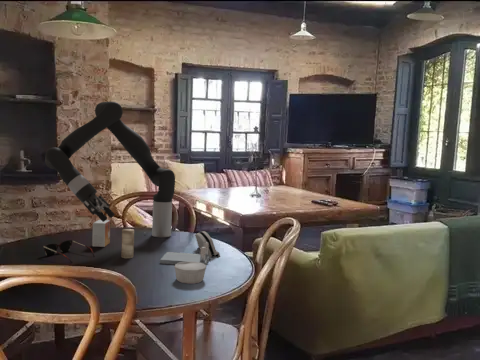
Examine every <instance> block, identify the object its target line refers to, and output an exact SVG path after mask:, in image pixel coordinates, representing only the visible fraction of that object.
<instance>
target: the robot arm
mask: <svg viewBox="0 0 480 360" xmlns="http://www.w3.org/2000/svg"><path fill="white" fill-rule="evenodd" d="M123 113H124V112H123V107H122V105H121V104H120V103H118V102H116V101H102V102H99V103H97V104H96V106H95V109H94V114H95V117H94V118H93V119H90V121H88V122H87V123H84V124H83V125H80V126H79V127H78V128H76V129H74V130H73V131H72V132H71V133H70V134H68V135H67V136H66V137H65V138H63V140H62V141H61V142H60V145H58V146H57V147H54V146H53V147H50V148H48V149H47V150H46V152H45V159H44V162H45V164H46V166H47V168H49V169H51V170H55V171H56V172H57V173H58V175H59V178H60V179H61V181H62V182H63V183H64V184H65V185H66V186H67V187H68V188H69V190H70V191H71V192H72V193H73V195H75V197H76V198H77V199H78V200H79V201H80V202H81V203H82V204H83V206H84V207H85V208H86V209H87V210H88V212H89V213H91V215H95V216H97V218H99V220H102V221H103V222H104V221H105V220H108V217H109V218H110V219H112V218H113V217H115V213H114V212H113V210H111V208H110V206H111V205H110V204H109V203H108V202H107V200H105V198H104V197H103V196H101V195H99V196H97V195H96V194H97V192H98V191H97V189H96V188H95V187H94V186H93V185H92V183H91V182H90V181H89V180H88V179H87V177H85V176H84V175H83V174H82V173H81V172H80V171H79V170H78V169H77V168H76V167H75V165H73V163H72V162H71V160H70V159H71V157H72V156H73V155H74V154H75V153H76V152H77V151H78V152H79V150H80V149H81V148H82V147H83V146H85V145H86V144H87V143H88V142H90V140H91V139H93V138H94V137H96V136H97V135H98V134H100V133H101V132H103V131H104V130H106V129H107V130H109V132H110V133H111V134H112V135H113V136H114V137H115V139H116V140H117V141H118V142H119V143H120V145H121V146H122V147H123V148H124V150H125V151H126V152H127V153H128V154H129V155H130V157H132V159H133V160H134V161H135V162H136V163H137V165H139V166H140V168H141V169H142V170H143V172H144V173H145V174H146V176H147V177H148V179H149V180H150V182H151V183H152V184H153V185H154V186H155V187H158V189H157V193H156V194H154V195H153V196H152V197H153V198H152V223H151V224H152V225H151V226H152V227H151V228H152V231H151V235H152V237H155V238H170V237H171V236H172V216H173V215H172V214H173V213H172V212H173V198H174V195H175V186H176V175H175V173H174V171H173V170H171V169H169V168H164V167H163V168H162V167H161V166H160V165H159V164H158V163H157V162H156V161H155V159H154V158H153V155H152V152H151V149H150V146H149V145H148V143H147V142H146V141H145V140H144V138H143V137H142V136H141V135H140V134H139V133H138V132H136V131H135V130H134V129H132V128H131V127H130V126H128V125H127V124H125V123H124V121H122V117H123ZM101 210H102V211H101ZM103 212H104V213H105V214H106V215H105V214H104V213H103ZM107 216H108V217H107Z"/></svg>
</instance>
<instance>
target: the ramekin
mask: <svg viewBox="0 0 480 360" xmlns="http://www.w3.org/2000/svg"><path fill="white" fill-rule="evenodd" d="M206 269H207V265H205V264H203V263H199V262H180V263H177V264H174V272H175V278H176V280H177V281H178V282H179V283H181V284H199V283H202V281H204V279H205V274H206V273H205V272H206Z"/></svg>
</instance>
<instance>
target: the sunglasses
mask: <svg viewBox="0 0 480 360" xmlns="http://www.w3.org/2000/svg"><path fill="white" fill-rule="evenodd" d="M73 243H75V244H78V245H81V246H83V247H85V248H88V249H90V251H91V253H92V257H93V258H95V257H96V256H95V253H94V251H93V248H91V247H90V246H87V245H85V244H82V243H79V242H77V241H75V240H72V239H66V240H63V241H61V242H60V243H55V242H54V243H53V242H51V243H47V244H45V245H43V249H44V250H43V251H44V253H45V255H46V256H50V255H55V253H56V254H58V255H62V256H64V258H66V259H67V260H68V261H69V262H70V263H71V264H74V262H73V261H72V260H71V259H70V258H69V257H68V256H67V255H65V254H64V252H67V251H70V249H71V247H72V244H73ZM58 249H59V250H60V251H61V252H62V253H61V252H59V251H57V250H58Z"/></svg>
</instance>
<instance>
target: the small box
mask: <svg viewBox="0 0 480 360" xmlns="http://www.w3.org/2000/svg"><path fill="white" fill-rule="evenodd" d="M91 239H92V243H91V244H92V247H101V248H105V247H107V246H108V245H109V244H110V243H111V241H110V240H111V220H109V219H106V220H105V221H104V222H103V221H102V220H101V219H98V220H96V221H94V222H93V223H92V238H91Z"/></svg>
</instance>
